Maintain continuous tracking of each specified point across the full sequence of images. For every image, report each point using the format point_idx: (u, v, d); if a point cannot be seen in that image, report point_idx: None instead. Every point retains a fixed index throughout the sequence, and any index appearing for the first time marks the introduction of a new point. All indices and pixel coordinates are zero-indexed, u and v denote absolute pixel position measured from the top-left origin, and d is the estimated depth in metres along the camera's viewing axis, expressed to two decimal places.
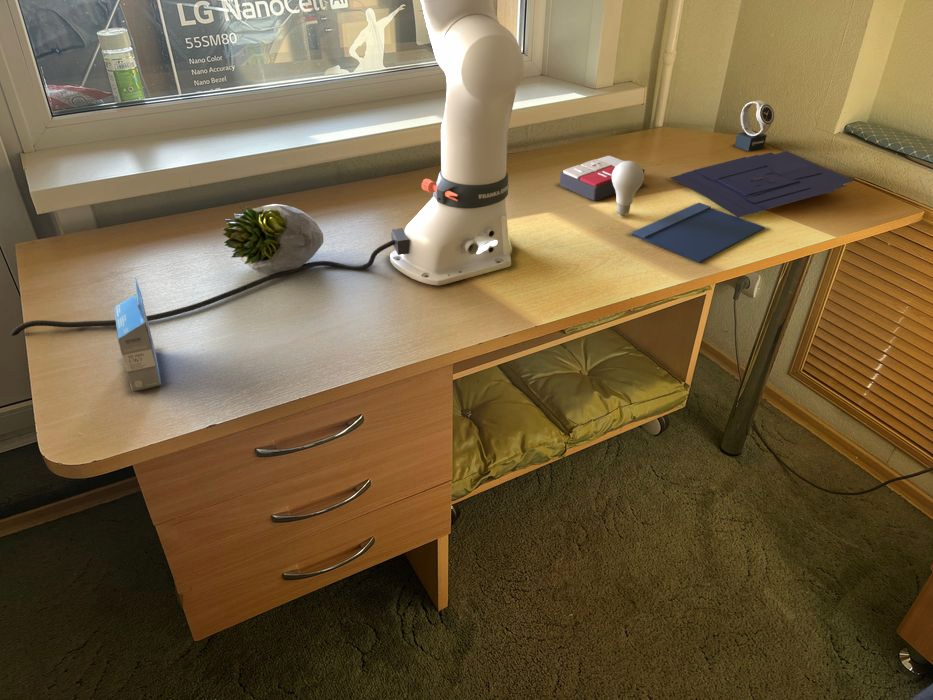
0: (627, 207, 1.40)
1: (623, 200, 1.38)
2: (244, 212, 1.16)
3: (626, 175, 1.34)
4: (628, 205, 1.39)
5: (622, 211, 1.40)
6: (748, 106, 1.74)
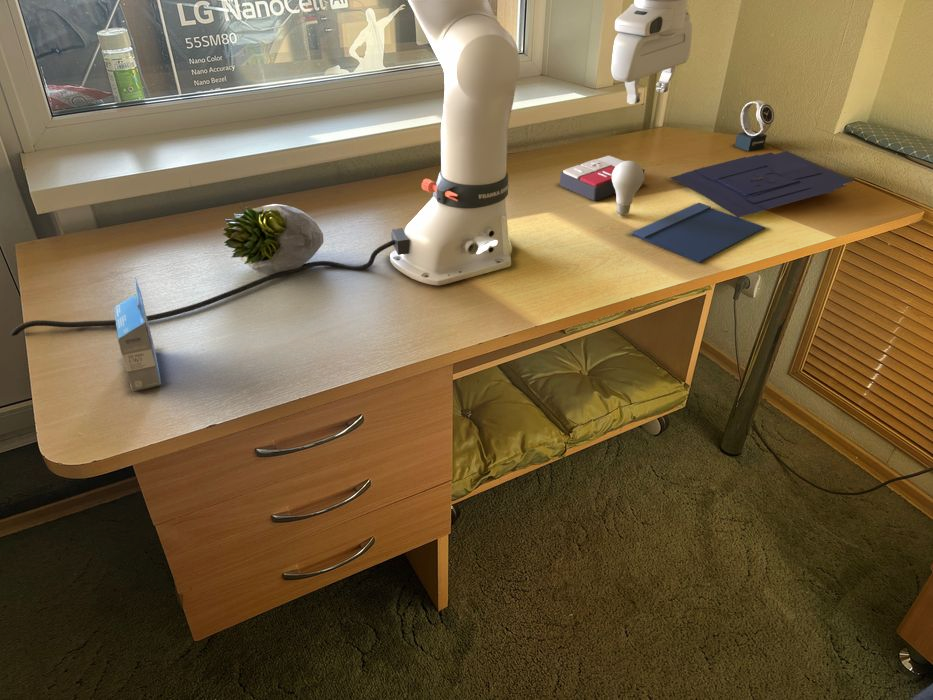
0: (627, 207, 1.40)
1: (623, 200, 1.38)
2: (244, 212, 1.16)
3: (626, 175, 1.34)
4: (628, 205, 1.39)
5: (622, 211, 1.40)
6: (748, 106, 1.74)
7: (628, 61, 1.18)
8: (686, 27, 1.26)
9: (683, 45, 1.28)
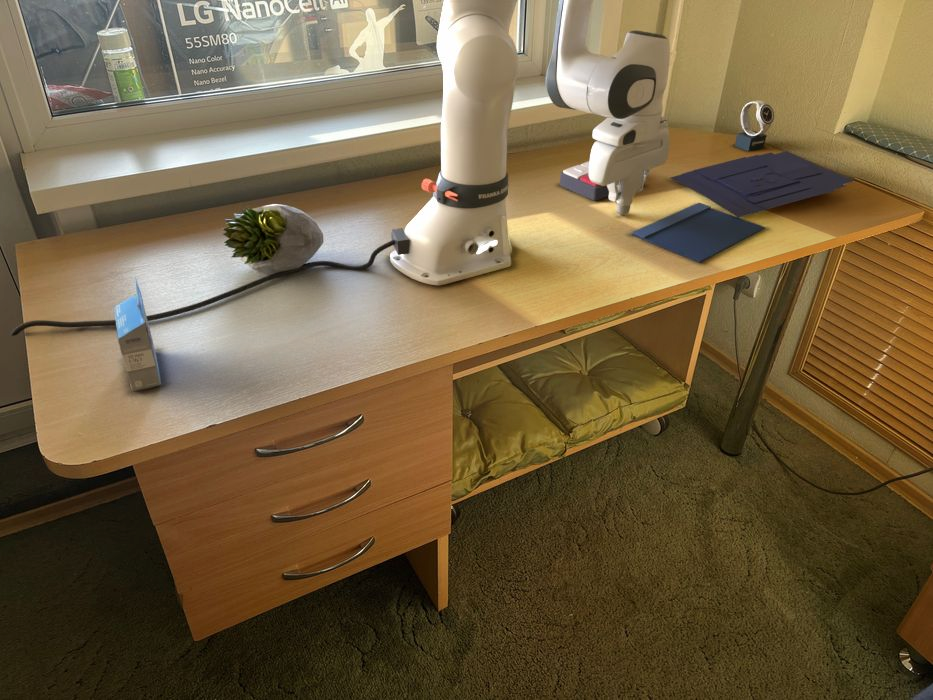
0: (627, 207, 1.40)
1: (623, 200, 1.39)
2: (244, 212, 1.16)
3: None
4: (628, 205, 1.39)
5: (622, 211, 1.40)
6: (748, 106, 1.74)
7: (603, 168, 1.29)
8: (663, 134, 1.36)
9: (660, 150, 1.38)
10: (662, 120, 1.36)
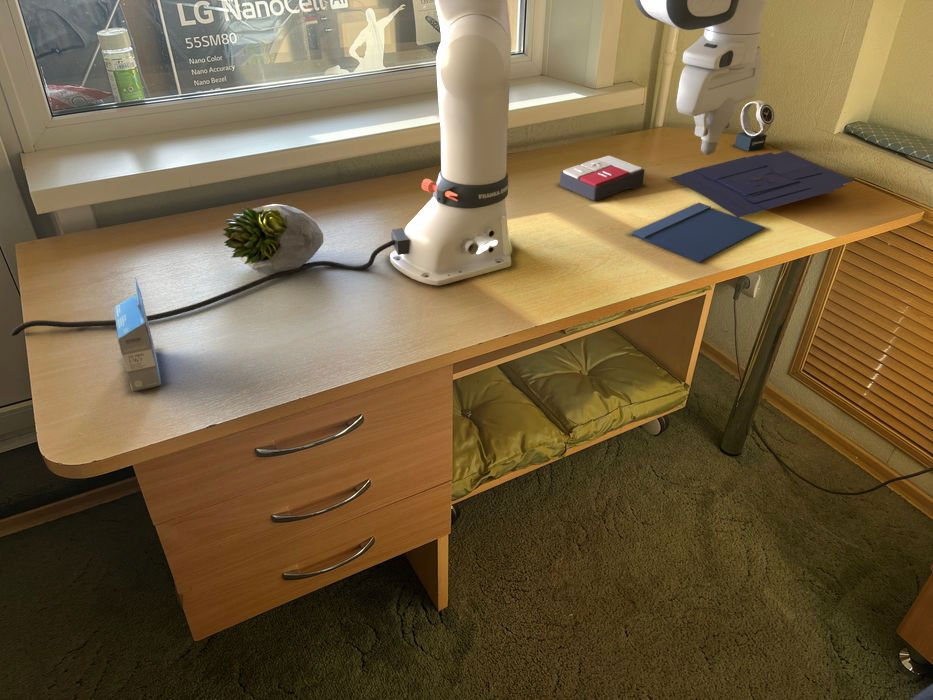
0: (714, 145, 1.26)
1: (710, 136, 1.25)
2: (244, 212, 1.16)
3: None
4: (715, 142, 1.25)
5: (708, 149, 1.26)
6: (748, 106, 1.74)
7: (695, 95, 1.15)
8: (757, 61, 1.22)
9: (752, 80, 1.24)
10: None
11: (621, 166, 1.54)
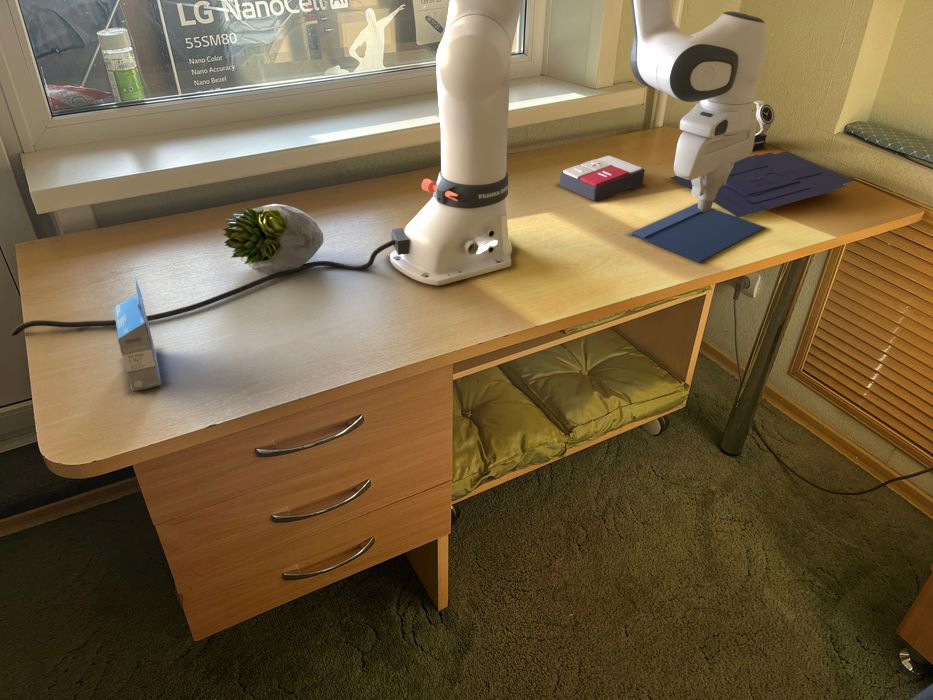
0: (710, 203, 1.31)
1: (707, 196, 1.30)
2: (244, 212, 1.16)
3: None
4: (711, 201, 1.31)
5: (704, 207, 1.32)
6: None
7: (691, 161, 1.20)
8: (751, 125, 1.27)
9: (747, 142, 1.29)
10: None
11: (621, 166, 1.54)
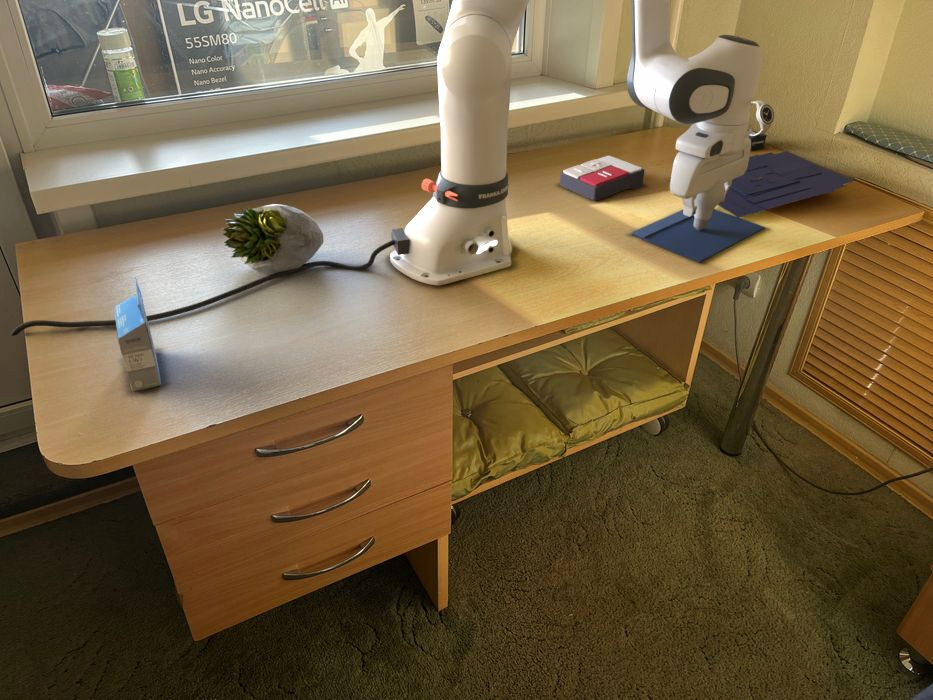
0: (705, 222, 1.33)
1: (702, 215, 1.32)
2: (244, 212, 1.16)
3: None
4: (707, 220, 1.33)
5: (700, 226, 1.34)
6: None
7: (687, 180, 1.22)
8: (746, 144, 1.29)
9: (741, 160, 1.31)
10: None
11: (621, 166, 1.54)
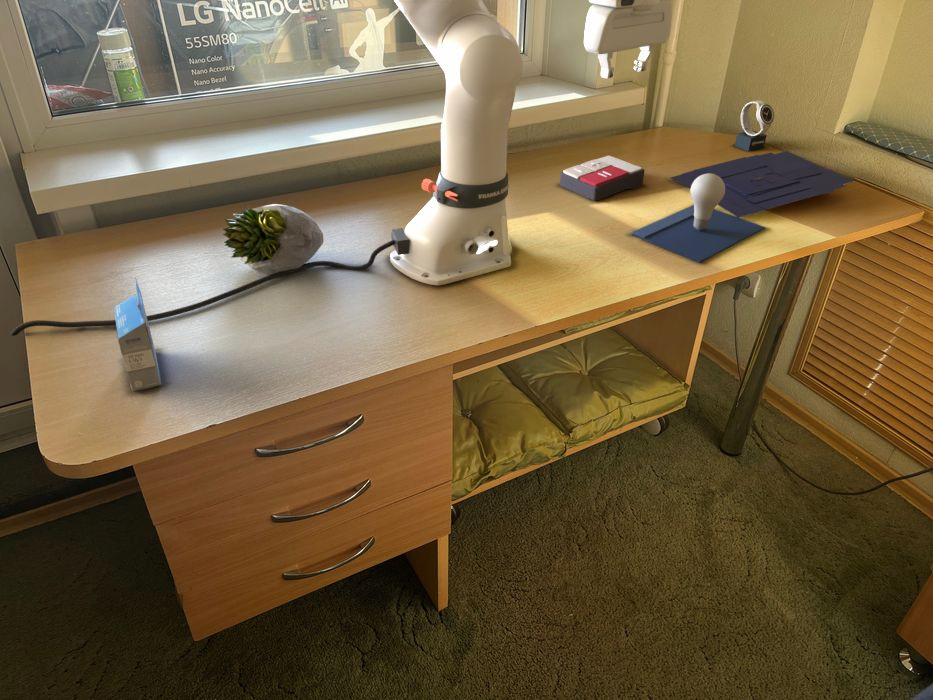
0: (705, 222, 1.33)
1: (702, 215, 1.32)
2: (244, 212, 1.16)
3: (708, 189, 1.28)
4: (707, 220, 1.33)
5: (700, 226, 1.34)
6: (748, 106, 1.74)
7: (599, 32, 1.20)
8: (665, 6, 1.27)
9: (662, 24, 1.29)
10: None
11: (621, 166, 1.54)
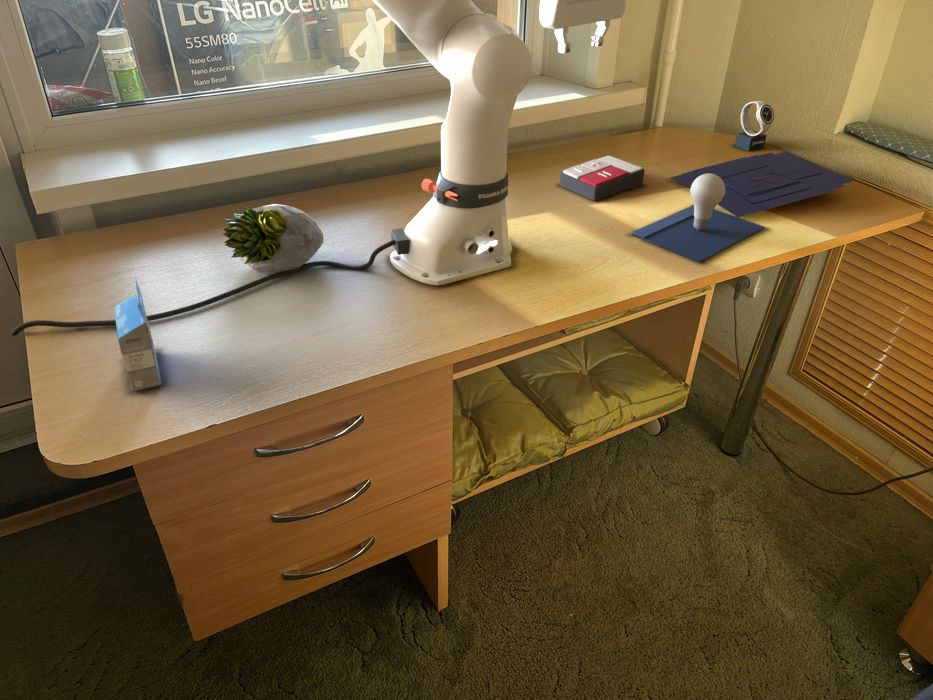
0: (705, 222, 1.33)
1: (702, 215, 1.32)
2: (244, 212, 1.16)
3: (708, 189, 1.28)
4: (707, 220, 1.33)
5: (700, 226, 1.34)
6: (748, 106, 1.74)
7: (553, 7, 1.23)
8: None
9: None
10: None
11: (621, 166, 1.54)
